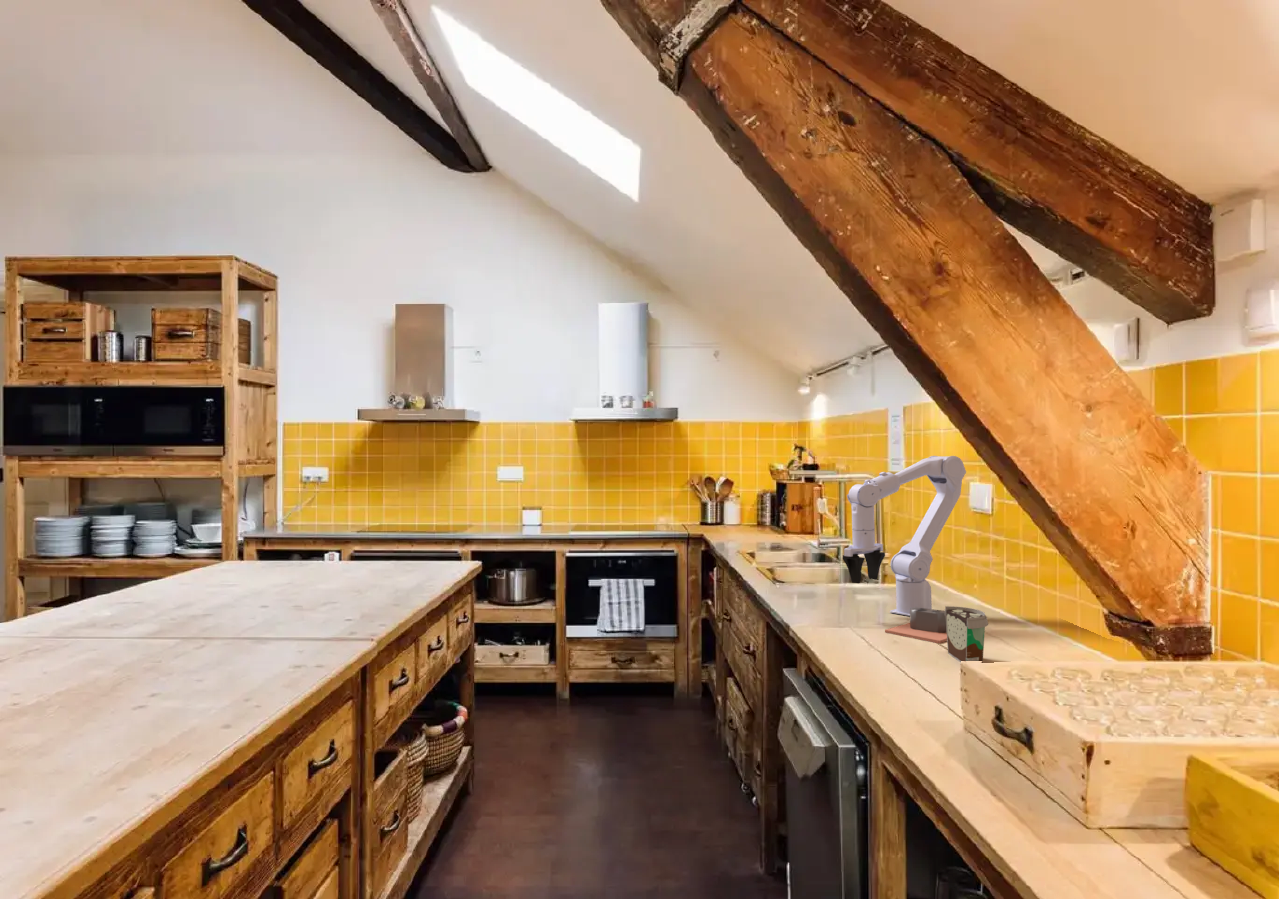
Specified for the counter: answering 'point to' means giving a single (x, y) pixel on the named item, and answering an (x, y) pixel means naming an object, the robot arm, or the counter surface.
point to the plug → (928, 620)
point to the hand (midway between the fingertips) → (864, 581)
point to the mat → (917, 633)
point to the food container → (965, 633)
